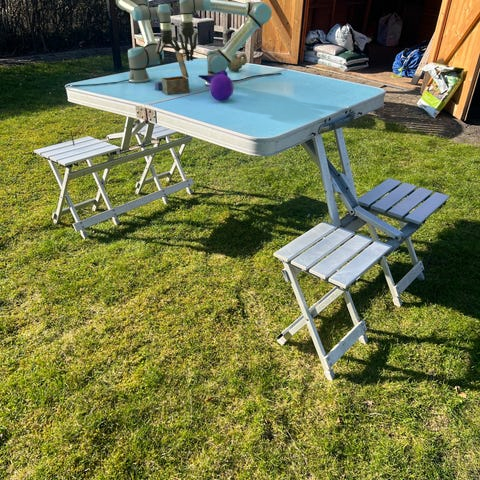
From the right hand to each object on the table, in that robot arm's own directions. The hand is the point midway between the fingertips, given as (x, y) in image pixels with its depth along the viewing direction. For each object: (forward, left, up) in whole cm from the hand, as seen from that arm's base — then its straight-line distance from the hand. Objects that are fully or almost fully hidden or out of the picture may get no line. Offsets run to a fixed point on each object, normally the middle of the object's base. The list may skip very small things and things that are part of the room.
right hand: (189, 60), depth 299 cm
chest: (+11, -3, -19) cm, 22 cm away
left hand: (+2, -25, -4) cm, 25 cm away
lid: (+6, -1, -2) cm, 7 cm away
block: (+16, -17, -19) cm, 30 cm away
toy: (+2, +33, -19) cm, 38 cm away
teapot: (-65, -36, -19) cm, 77 cm away
